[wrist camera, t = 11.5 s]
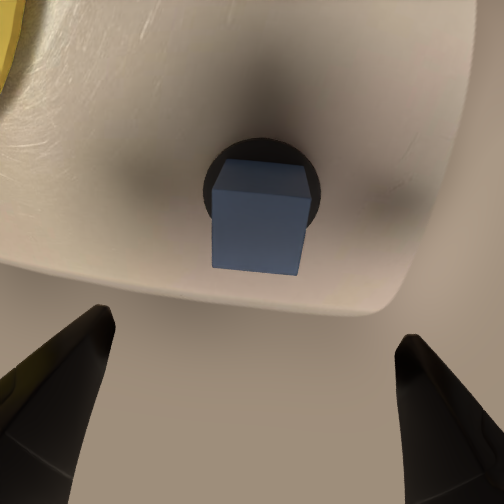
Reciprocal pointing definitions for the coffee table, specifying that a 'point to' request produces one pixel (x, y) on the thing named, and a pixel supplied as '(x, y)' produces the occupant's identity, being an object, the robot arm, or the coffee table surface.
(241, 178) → the block
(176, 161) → the coffee table surface
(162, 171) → the coffee table surface
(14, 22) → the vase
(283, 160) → the coaster
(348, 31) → the coffee table surface
